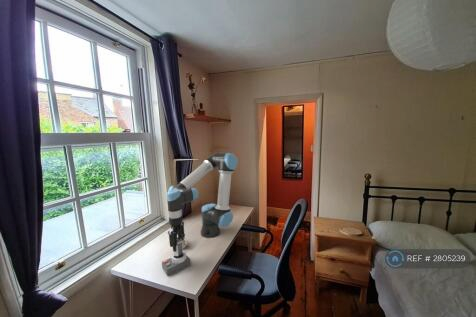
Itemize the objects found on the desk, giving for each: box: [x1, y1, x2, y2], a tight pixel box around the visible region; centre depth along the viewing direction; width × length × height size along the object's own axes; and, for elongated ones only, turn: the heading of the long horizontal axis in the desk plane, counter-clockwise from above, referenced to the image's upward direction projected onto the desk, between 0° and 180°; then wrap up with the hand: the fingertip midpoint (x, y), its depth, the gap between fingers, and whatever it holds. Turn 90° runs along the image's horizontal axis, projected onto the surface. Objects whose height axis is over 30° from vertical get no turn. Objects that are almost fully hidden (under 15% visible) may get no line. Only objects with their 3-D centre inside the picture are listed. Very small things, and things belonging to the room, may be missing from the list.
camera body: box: [161, 250, 191, 277], centre depth 116 cm, size 14×9×6 cm, turn 129°
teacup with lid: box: [177, 232, 189, 249], centre depth 135 cm, size 12×9×12 cm
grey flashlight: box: [175, 237, 184, 258], centre depth 116 cm, size 5×5×13 cm
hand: (178, 252), depth 117 cm, fingers closed on grey flashlight, 5 cm apart
